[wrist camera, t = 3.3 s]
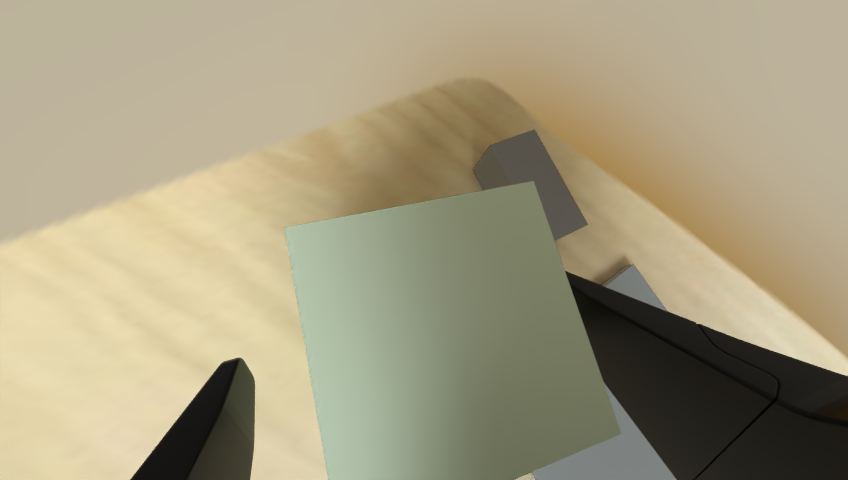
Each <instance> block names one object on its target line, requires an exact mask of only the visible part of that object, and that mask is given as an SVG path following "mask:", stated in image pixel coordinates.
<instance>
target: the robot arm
mask: <svg viewBox="0 0 848 480" xmlns="http://www.w3.org/2000/svg"><path fill="white" fill-rule="evenodd" d="M565 273H566V275H567V278H568V281H569V284H570V287H571V290H572V293H573V296H574V298H575V301H576V304H577V307H578V310H579V313H580V316H581V319H582V322H583V324H584V327H585V330H586V333H587V336H588V339H589V342H590V345H591V347H592V350H593V353H594V356H595V359H596V362H597V365H598V368H599V370H600V373H601V376H602V379H603V382H604V383H605V385H606V386H607V387H608V389H609V390H610V391H611V393H612V394H613V395H614V397H615V398H616V399H617V401H618V402H619V403H620V405H621V406H622V407H623V409H624V410H625V411H626V413H627V414H628V415H629V417H630V418H631V419H632V421H633V422H634V424H635V425H636V426H637V428H638V429H639V430H640V432H641V433H642V434H643V436H644V437H645V438H646V440H647V441H648V442H649V444H650V445H651V446H652V448H653V449H654V450H655V452H656V453H657V454H658V456H659V457H660V458H661V460H662V461H663V462H664V464H665V465H666V466H667V468H668V469H669V470H670V472H671V473H672V474H673V476H674V477H675V478H676V480H848V376H845V375H842V374H839V373H835V372H832V371H830V370H827V369H824V368H821V367H818V366H815V365H812V364H809V363H806V362H803V361H800V360H797V359H794V358H791V357H788V356H785V355H782V354H780V353H777V352H774V351H771V350H768V349H765V348H762V347H759V346H756V345H754V344H751V343H748V342H745V341H742V340H739V339H737V338H734V337H732V336H729V335H726V334H724V333H721V332H718V331H716V330H713V329H711V328H708V327H706V326H703V325H701V324H696V323H695V322H693V321H690V320H688V319H685V318H683V317H680V316H678V315H675V314H673V313H670V312H668V311H665V310H663V309H660V308H657V307H655V306H652V305H650V304H647V303H645V302H642V301H640V300H637V299H635V298H632V297H630V296H627V295H625V294H622V293H619V292H617V291H614V290H612V289H609V288H607V287H604V286H602V285H599V284H597V283H594V282H592V281H589V280H587V279H584V278H581V277H579V276H576V275H574V274H571V273H569V272H566V271H565ZM254 423H255V381H254V377H253V375H252V373H251V372H250V370H249V368H248V367H247V365H246V363H245V362H244V360H243V359H242V358H235V359H231V360H228V361H225V362H223V363H222V364H220V366H219V367H218V368H217V369H216V371H215V372H214V373H213V375H212V376H211V377H210V378H209V380H208V381H207V382H206V383H205V385H204V386H203V387H202V389H201V390H200V391H199V392H198V394H197V395H196V396H195V398H194V399H193V400H192V401H191V403H190V404H189V405H188V406H187V408H186V409H185V410H184V412H183V413H182V414H181V415H180V417H179V418H178V419H177V421H176V422H175V423H174V424H173V426H172V427H171V428H170V429H169V431H168V432H167V433H166V435H165V436H164V437H163V438H162V440H161V441H160V442H159V444H158V445H157V446H156V447H155V449H154V450H153V451H152V453H151V454H150V455H149V456H148V458H147V459H146V460H145V461H144V463H143V464H142V465H141V467H140V468H139V469H138V470H137V472H136V473H135V474H134V476H133V477H132V478H131V479H130V480H250V476H251V468H252V460H253V451H254Z"/></svg>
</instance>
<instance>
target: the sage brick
mask: <svg viewBox="0 0 848 480" xmlns="http://www.w3.org/2000/svg"><path fill="white" fill-rule="evenodd" d="M285 234H286V239H287V245H288V251H289V257H290V262H291V268H292V274H293V280H294V285H295V291H296V297H297V302H298V308H299V314H300V320H301V325H302V331H303V337H304V343H305V348H306V354H307V360H308V366H309V371H310V377H311V383H312V388H313V394H314V400H315V406H316V411H317V417H318V423H319V429H320V434H321V440H322V446H323V452H324V457H325V463H326V469H327V474H328V480H514V479H516V478H519V477H521V476H523V475H526V474H528V473H531V472H533V471H535V470H538V469H540V468H542V467H545V466H547V465H549V464H552V463H554V462H556V461H559V460H561V459H563V458H566V457H568V456H570V455H573V454H575V453H578V452H580V451H582V450H585V449H587V448H589V447H592V446H594V445H596V444H599V443H601V442H603V441H606V440H608V439H610V438H613V437H615V436H617V435H620V434H621V431H620V428H619V425H618V422H617V419H616V417H615V414H614V411H613V408H612V405H611V402H610V399H609V396H608V393H607V391H606V388H605V385H604V382H603V379H602V376H601V373H600V370H599V368H598V365H597V362H596V359H595V356H594V353H593V350H592V347H591V345H590V342H589V339H588V336H587V333H586V330H585V327H584V324H583V322H582V319H581V316H580V313H579V310H578V307H577V304H576V301H575V298H574V296H573V293H572V290H571V287H570V284H569V281H568V278H567V275H566V273H565V270H564V267H563V264H562V261H561V258H560V255H559V252H558V250H557V247H556V244H555V241H554V238H553V235H552V232H551V229H550V226H549V224H548V221H547V218H546V215H545V212H544V209H543V206H542V203H541V201H540V198H539V195H538V192H537V189H536V186H535V183H534V181H531V182H525V183H520V184H515V185H509V186H504V187H499V188H493V189H488V190H483V191H477V192H472V193H467V194H461V195H456V196H451V197H445V198H440V199H434V200H429V201H424V202H418V203H413V204H408V205H402V206H397V207H392V208H386V209H381V210H376V211H370V212H365V213H360V214H354V215H349V216H344V217H338V218H333V219H328V220H322V221H317V222H311V223H306V224H301V225H295V226H290V227H285Z"/></svg>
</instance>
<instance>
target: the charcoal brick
mask: <svg viewBox="0 0 848 480" xmlns="http://www.w3.org/2000/svg"><path fill="white" fill-rule="evenodd" d="M473 171H474V173H475V175H476V177H477V179H478V181H479V183H480V185H481V187H482V189H483V190H488V189H493V188H499V187H504V186H509V185H515V184H520V183H525V182H531V181H534V183H535V186H536V189H537V192H538V195H539V198H540V201H541V203H542V206H543V209H544V212H545V215H546V218H547V221H548V224H549V226H550V229H551V232H552V235H553V238H554V241H555V240H557V239H559V238H561V237H563V236H565V235H567V234H570V233H572V232H574V231H576V230H578V229H580V228H582V227H584V226H586V225H588V224H587V222H586V220H585V218H584V217H583V215H582V213H581V211H580V209H579V208H578V206H577V204H576V202H575V201H574V199H573V197H572V195H571V193H570V192H569V190H568V188H567V186H566V185H565V183H564V181H563V179H562V177H561V176H560V174H559V172H558V170H557V169H556V167H555V165H554V163H553V161H552V160H551V158H550V156H549V154H548V153H547V151H546V149H545V147H544V145H543V144H542V142H541V140H540V138H539V137H538V135H537V133H536V131H535V130H532V131H529V132H526V133H523V134H521V135H518V136H515V137H512V138H510V139H507V140H504V141H501V142H499V143H496V144H493V145H490V146H489V148H488V149H487V150H486V152H485V153H484V154H483V156H482V157H481V159H480V160H479V161H478V163H477V164H476V166H475V167H474V168H473Z"/></svg>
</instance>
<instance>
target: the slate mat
mask: <svg viewBox="0 0 848 480" xmlns="http://www.w3.org/2000/svg"><path fill="white" fill-rule="evenodd" d="M602 286H604V287H607V288H609V289H612V290H614V291H617V292H619V293H622V294H625V295H627V296H630V297H632V298H635V299H637V300H640V301H642V302H645V303H647V304H650V305H652V306H655V307H657V308H660V309H663V310H665V311H667V310H666V309H665V307H664V306H663V305H662V303H661V302H660V300H659V299H658V298H657V296H656V295H655V293H654V292H653V291H652V289H651V288H650V287H649V285H648V284H647V282H646V281H645V280H644V278H643V277H642V275H641V274H640V273H639V271H638V270H637V268H636V267H635V266H634V264H633V265H628V266H625V267H624V268H623V269H621V270H620V271H619V272H618V273H616V274H615V275H614V276H612V277H611V278H610V279H609V280H607V281H606V282H605V283H604V284H602ZM604 385H605V383H604ZM605 388H606V391H607V393H608V396H609V399H610V402H611V405H612V408H613V411H614V414H615V417H616V419H617V422H618V425H619V428H620V431H621V434H620V435H617V436H615V437H613V438H610V439H608V440H606V441H603V442H601V443H599V444H596V445H594V446H592V447H589V448H587V449H585V450H582V451H580V452H578V453H575V454H573V455H570V456H568V457H566V458H563V459H561V460H559V461H556V462H554V463H552V464H549V465H547V466H545V467H542V468H540V469H538V470H535V471H533V472H532V474H533V476H534V477H535V479H536V480H676V478H675V477H674V476H673V474H672V473H671V472H670V470H669V469H668V468H667V466H666V465H665V464H664V462H663V461H662V460H661V458H660V457H659V456H658V454H657V453H656V452H655V450H654V449H653V448H652V446H651V445H650V444H649V442H648V441H647V440H646V438H645V437H644V436H643V434H642V433H641V432H640V430H639V429H638V428H637V426H636V425H635V424H634V422H633V421H632V419H631V418H630V417H629V415H628V414H627V413H626V411H625V410H624V409H623V407H622V406H621V405H620V403H619V402H618V401H617V399H616V398H615V397H614V395H613V394H612V393H611V391H610V390H609V389H608V387H607V386H606V385H605Z"/></svg>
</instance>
